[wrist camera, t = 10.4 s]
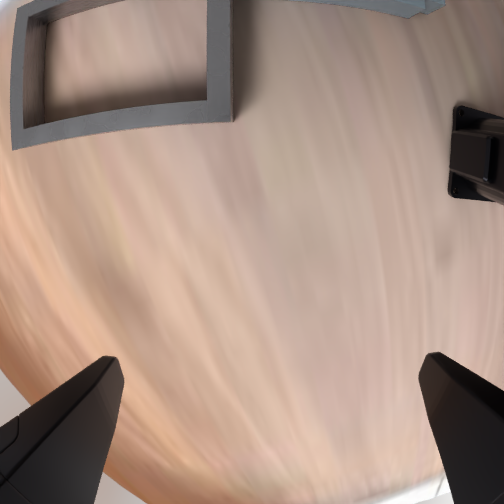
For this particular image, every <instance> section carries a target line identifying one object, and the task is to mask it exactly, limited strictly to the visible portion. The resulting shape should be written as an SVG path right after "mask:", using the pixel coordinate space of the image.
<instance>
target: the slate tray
mask: <svg viewBox="0 0 504 504" xmlns="http://www.w3.org/2000/svg"><path fill="white" fill-rule="evenodd" d="M290 1H305V2H316V3H326V4H334V5H342V6H349V7H355V8H361V9H367V10H372V11H377V12H382V13H387V14H391V15H396V16H400V17H404V18H408V19H409V18H410V17H412V16H414V15H416V14H417V13H419V12H421V13H425V14H429V13H431V12H433V11H435V10H437V9H439V8H441V7H443V6H445V0H290Z"/></svg>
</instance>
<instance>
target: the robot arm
mask: <svg viewBox="0 0 504 504" xmlns="http://www.w3.org/2000/svg"><path fill="white" fill-rule="evenodd" d="M459 110H460V111H461V115H459ZM449 167H450V173H449V183H448V194H449V195H450V196H451V197H454V198H460V199H471V200H481V201H490V202H497V203H499V204H501V205H504V118H502V117H499V116H496V115H493V114H490V113H486V112H483V111H479V110H476V109H472V108H468V107H465V106H455V107H454V109H453V129H452V138H451V154H450V166H449ZM454 188H456V191H455V193H453V190H454ZM419 384H420V387H421V391H422V395H423V399H424V403H425V408H426V412H427V416H428V420H429V423H430V426H431V429H432V432H433V435H434V438H435V441H436V444H437V447H438V450H439V453H440V456H441V459H442V463H443V466H444V469H445V473H446V476H447V480H448V483H449V487H450V490H451V493H452V498H453V501H454V504H504V391H503V390H501V389H500V388H498V387H497V386H495V385H493V384H492V383H490V382H488V381H487V380H485V379H483V378H482V377H480V376H479V375H477V374H475V373H474V372H472V371H470V370H469V369H467V368H465V367H464V366H462V365H460V364H459V363H457V362H456V361H454V360H452V359H451V358H449V357H447V356H446V355H444V354H442V353H441V352H433V353H428V354H427V355H426V357H425V359H424V362H423V364H422V367H421V369H420V372H419ZM123 388H124V376H123V373H122V370H121V367H120V364H119V361H118V359H117V358H116V357H113V356H102V357H101V358H99V359H98V360H96V361H95V362H93V363H92V364H91V365H89V366H88V367H86V368H85V369H83V370H82V371H81V372H79V373H78V374H76V375H75V376H73V377H72V378H71V379H69V380H68V381H66V382H65V383H63V384H62V385H61V386H59V387H58V388H56V389H55V390H53V391H52V392H50V393H49V394H48V395H46V396H45V397H43V398H42V399H40V400H39V401H38V402H36V403H35V404H33V405H32V406H30V407H29V408H28V409H26V410H25V411H23V412H22V413H20V414H19V416H16V417H15V418H13V419H12V420H10V421H9V422H7V423H6V424H4V425H3V426H1V427H0V504H94V501H95V497H96V494H97V490H98V486H99V483H100V479H101V475H102V472H103V468H104V465H105V461H106V458H107V455H108V451H109V448H110V445H111V441H112V438H113V435H114V431H115V428H116V423H117V418H118V413H119V407H120V402H121V397H122V392H123Z"/></svg>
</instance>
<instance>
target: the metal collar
mask: <svg viewBox="0 0 504 504" xmlns="http://www.w3.org/2000/svg"><path fill="white" fill-rule="evenodd" d="M119 1H123V0H34V1H32V2H30V3H28V4H25V5H23V6H21V7H19V8H17V14H16V21H15V28H14V37H13V47H12V59H11V79H10V120H11V140H12V151H13V150H17V149H22V148H26V147H31V146H36V145H40V144H45V143H50V142H55V141H60V140H65V139H71V138H76V137H82V136H88V135H94V134H101V133H108V132H115V131H123V130H131V129H140V128H149V127H159V126H171V125H184V124H201V123H224V122H234V119H233V0H207V100H204V101H189V102H176V103H165V104H156V105H147V106H139V107H131V108H124V109H118V110H111V111H105V112H99V113H94V114H88V115H83V116H78V117H73V118H68V119H64V120H59V121H55V122H50V123H46V124H44V60H45V44H46V32H47V24H48V23H50V22H53V21H56V20H59V19H61V18H64V17H67V16H70V15H73V14H76V13H79V12H83V11H86V10H89V9H93V8H96V7H100V6H103V5H107V4H111V3H115V2H119Z"/></svg>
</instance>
